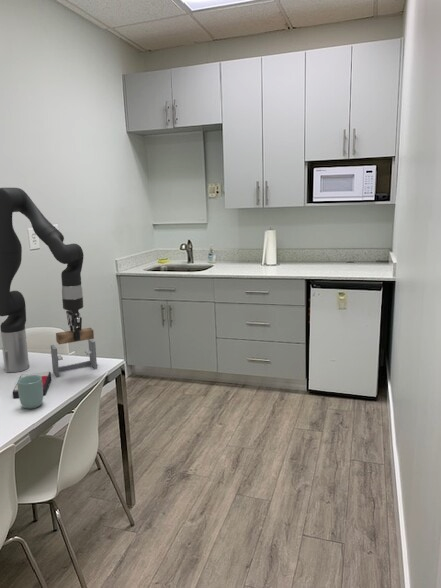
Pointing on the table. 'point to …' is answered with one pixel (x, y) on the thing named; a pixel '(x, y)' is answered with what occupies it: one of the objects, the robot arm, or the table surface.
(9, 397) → the table surface
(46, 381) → the calculator
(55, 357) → the shelf frame
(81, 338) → the shelf bar
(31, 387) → the cup
